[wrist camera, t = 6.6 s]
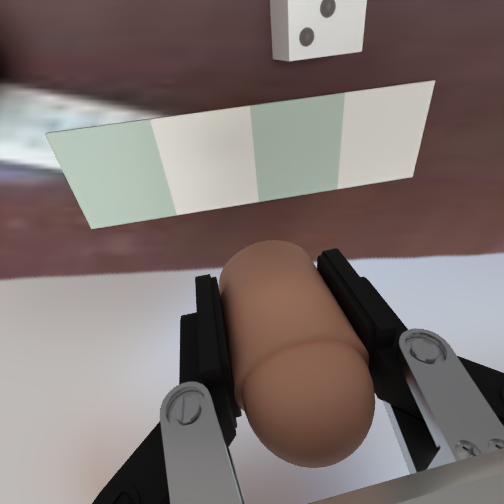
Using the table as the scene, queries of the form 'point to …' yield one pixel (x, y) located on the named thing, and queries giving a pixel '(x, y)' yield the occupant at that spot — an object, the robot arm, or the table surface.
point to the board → (243, 153)
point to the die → (316, 28)
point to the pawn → (294, 356)
